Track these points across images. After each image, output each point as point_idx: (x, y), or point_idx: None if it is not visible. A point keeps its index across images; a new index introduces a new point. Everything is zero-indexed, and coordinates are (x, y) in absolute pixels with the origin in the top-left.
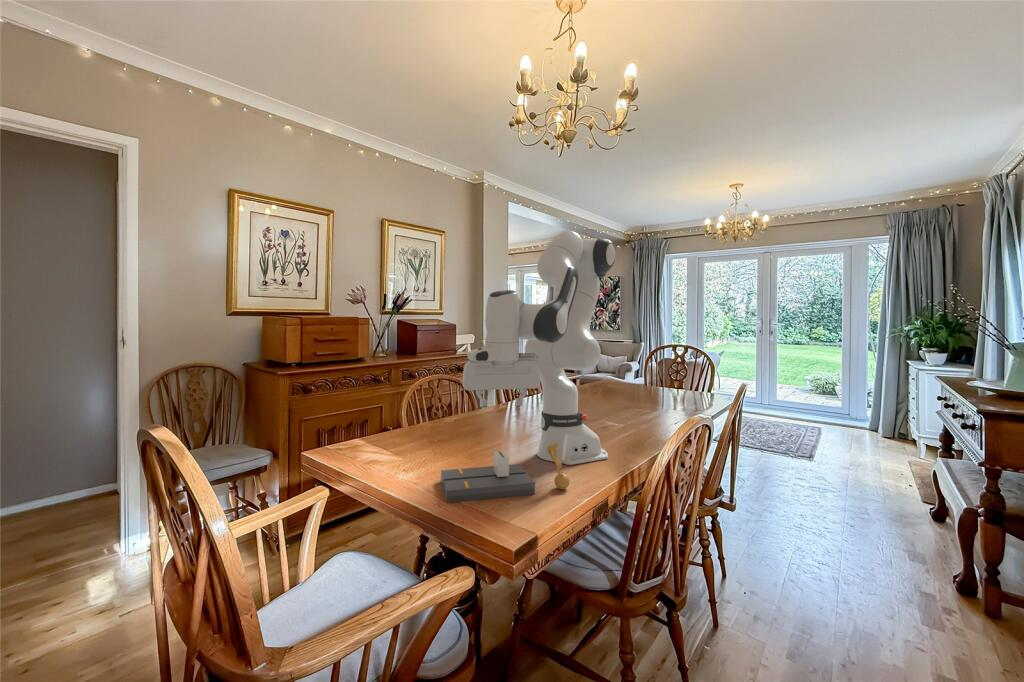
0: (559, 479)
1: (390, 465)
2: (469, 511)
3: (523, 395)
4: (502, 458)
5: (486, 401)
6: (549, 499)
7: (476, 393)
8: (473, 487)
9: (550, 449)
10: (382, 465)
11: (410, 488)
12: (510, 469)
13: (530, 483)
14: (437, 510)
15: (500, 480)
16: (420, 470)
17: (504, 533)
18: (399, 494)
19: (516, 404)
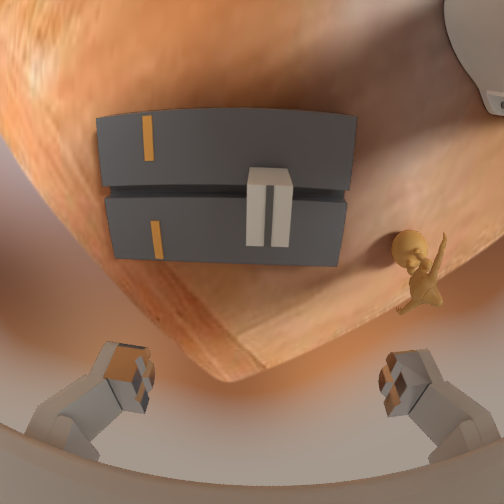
0: (400, 263)
1: (19, 10)
2: (169, 289)
3: (433, 435)
4: (263, 245)
5: (142, 409)
6: (348, 281)
7: (47, 416)
8: (174, 256)
9: (414, 301)
10: (7, 13)
11: (51, 152)
12: (310, 155)
13: (325, 265)
14: (111, 269)
15: None
16: (70, 35)
17: (220, 360)
18: (37, 182)
19: (383, 377)
